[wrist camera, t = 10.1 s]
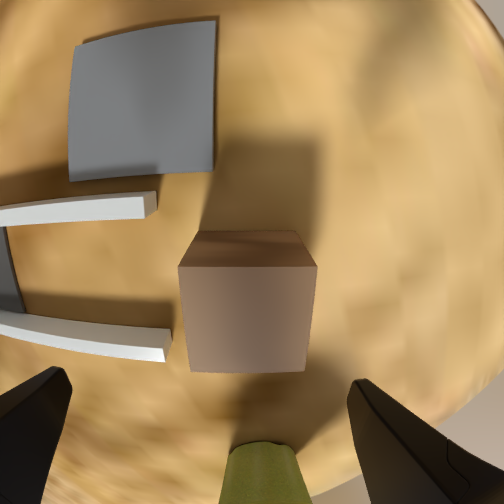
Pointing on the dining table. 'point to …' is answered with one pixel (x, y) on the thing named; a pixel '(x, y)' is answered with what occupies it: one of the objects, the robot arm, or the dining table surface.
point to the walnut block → (247, 301)
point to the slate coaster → (143, 103)
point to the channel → (68, 331)
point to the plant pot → (263, 476)
